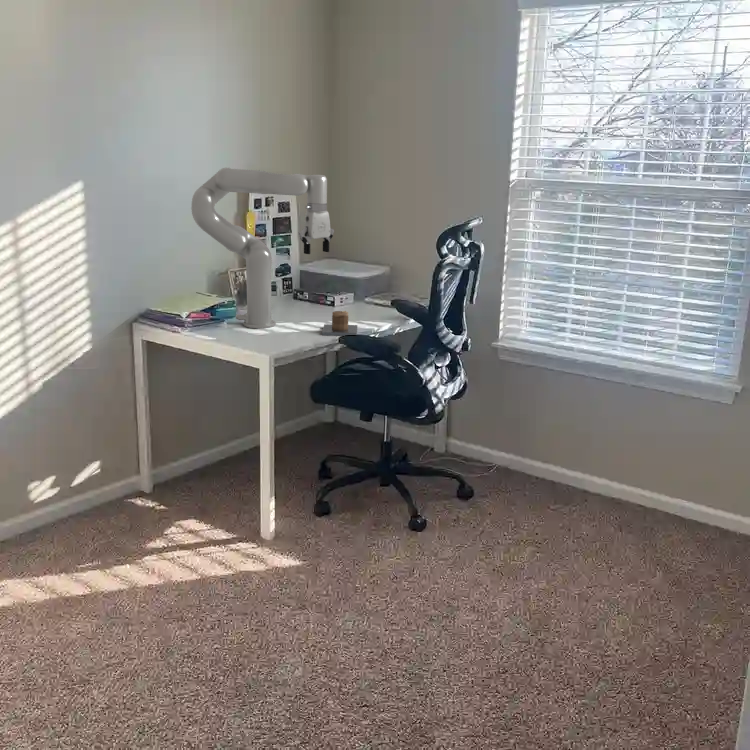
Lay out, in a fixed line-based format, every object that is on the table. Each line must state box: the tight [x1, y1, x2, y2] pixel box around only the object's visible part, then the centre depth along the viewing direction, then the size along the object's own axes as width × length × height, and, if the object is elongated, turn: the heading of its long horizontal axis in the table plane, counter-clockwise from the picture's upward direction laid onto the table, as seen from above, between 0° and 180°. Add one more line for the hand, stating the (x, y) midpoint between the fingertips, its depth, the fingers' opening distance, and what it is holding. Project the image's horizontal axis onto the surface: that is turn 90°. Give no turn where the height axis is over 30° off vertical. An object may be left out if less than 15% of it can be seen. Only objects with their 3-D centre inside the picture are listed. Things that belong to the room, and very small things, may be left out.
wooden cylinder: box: [331, 310, 349, 330], centre depth 315 cm, size 6×6×6 cm
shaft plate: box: [321, 323, 358, 337], centre depth 316 cm, size 13×13×6 cm
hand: (316, 252), depth 320 cm, fingers open, 9 cm apart
